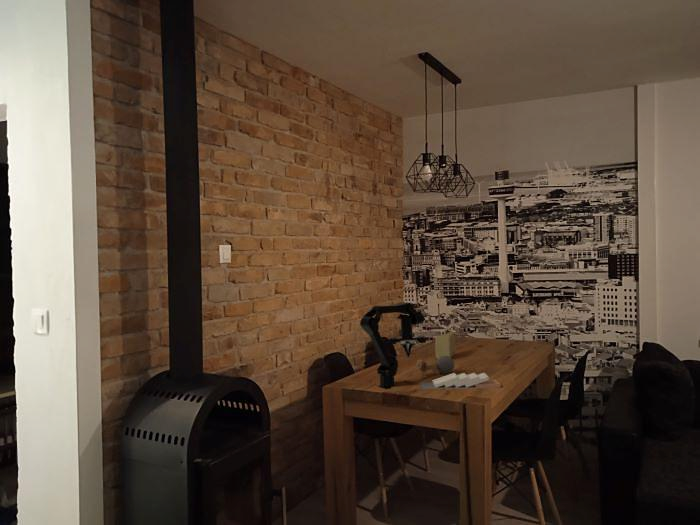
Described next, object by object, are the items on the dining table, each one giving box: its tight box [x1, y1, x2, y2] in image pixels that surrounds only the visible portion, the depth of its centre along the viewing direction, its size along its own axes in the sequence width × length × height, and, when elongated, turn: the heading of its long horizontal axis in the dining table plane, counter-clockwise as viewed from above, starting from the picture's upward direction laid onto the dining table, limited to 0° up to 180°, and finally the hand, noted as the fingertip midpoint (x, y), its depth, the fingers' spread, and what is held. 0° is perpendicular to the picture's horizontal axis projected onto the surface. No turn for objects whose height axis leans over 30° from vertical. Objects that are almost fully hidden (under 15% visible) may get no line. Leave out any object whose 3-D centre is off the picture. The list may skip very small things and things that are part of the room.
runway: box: [419, 382, 485, 390], centre depth 285 cm, size 32×13×1 cm, turn 89°
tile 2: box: [444, 372, 469, 387], centre depth 285 cm, size 2×10×12 cm
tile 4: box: [465, 372, 490, 388], centre depth 285 cm, size 2×10×12 cm
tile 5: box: [474, 379, 501, 389], centre depth 285 cm, size 2×10×12 cm
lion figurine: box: [416, 359, 441, 377], centre depth 312 cm, size 15×5×9 cm, turn 113°
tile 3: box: [455, 372, 479, 388], centre depth 285 cm, size 2×10×12 cm
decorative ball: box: [435, 355, 455, 375], centre depth 316 cm, size 10×10×10 cm
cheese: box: [434, 331, 456, 360], centre depth 366 cm, size 22×10×15 cm, turn 151°
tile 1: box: [431, 372, 459, 388], centre depth 286 cm, size 2×10×12 cm
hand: (408, 356), depth 295 cm, fingers closed
